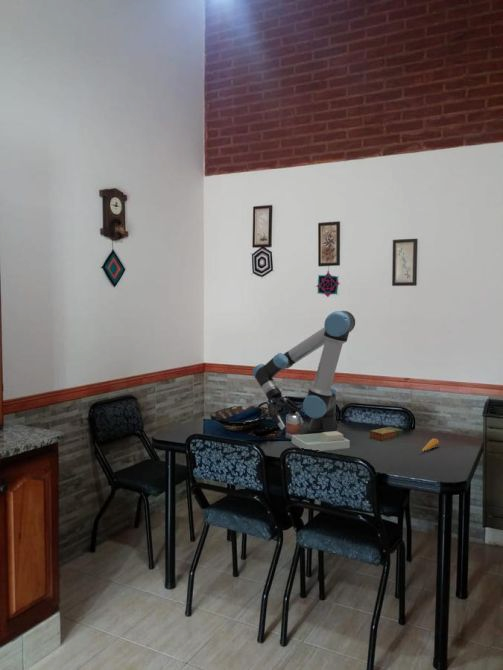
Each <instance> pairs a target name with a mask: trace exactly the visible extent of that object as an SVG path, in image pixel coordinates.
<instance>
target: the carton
mask: <svg viewBox="0 0 503 670" xmlns="http://www.w3.org/2000/svg"><path fill="white" fill-rule="evenodd" d="M399 436H402V437H403V429H400V428H398V427H393V426H392V427H391V426H386V427H382V428H378V429H372V430H370V431H369V438H370V439H372V438H373V439H372V440H375V439H377V441H379V440H381V441H380V442H382V441H383V442H385V441H384V440H387V441H389V440H388V439H391V440H393V439H392V438H395V437H399ZM399 438H400V437H399ZM395 439H396V438H395Z"/></svg>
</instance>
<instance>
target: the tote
mask: <svg viewBox="0 0 503 670" xmlns="http://www.w3.org/2000/svg"><path fill="white" fill-rule="evenodd" d="M350 442H351V441H350V440H349V439H348V438H345V437H343V441H334V442H323V443H322V433H316V434H315V433H308V434H307V433H306V434H300V435H293V436H292V439H291V444H292V445H294V446H296V447H297V448H299V449H301V448H304V449H312V450H319V451H318V452H323V451H324V452H327V451H335V450H336V451H337V450H345V449H350V444H351V443H350Z"/></svg>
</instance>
